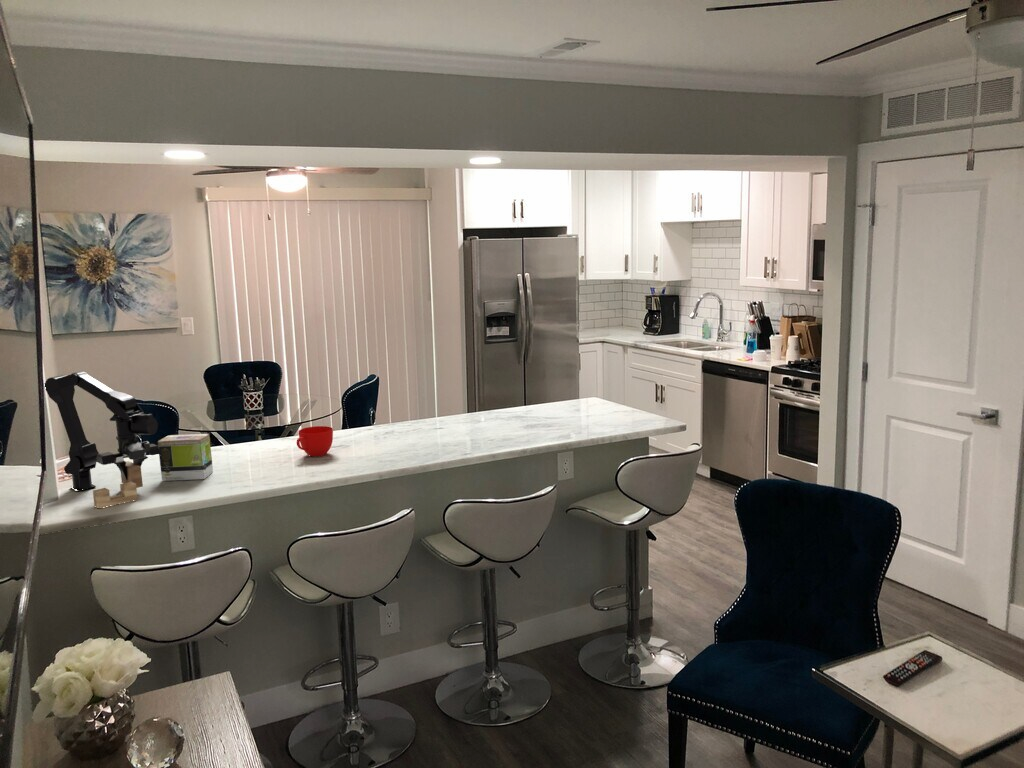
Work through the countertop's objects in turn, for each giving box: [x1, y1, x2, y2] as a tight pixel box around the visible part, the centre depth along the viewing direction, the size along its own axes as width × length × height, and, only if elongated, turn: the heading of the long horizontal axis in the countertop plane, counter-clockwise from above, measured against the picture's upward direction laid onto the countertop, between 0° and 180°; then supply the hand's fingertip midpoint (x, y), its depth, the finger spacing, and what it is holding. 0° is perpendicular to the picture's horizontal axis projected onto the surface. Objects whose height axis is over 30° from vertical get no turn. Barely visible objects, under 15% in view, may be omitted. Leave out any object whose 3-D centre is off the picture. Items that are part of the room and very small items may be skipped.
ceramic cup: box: [296, 425, 334, 457], centre depth 311 cm, size 13×17×10 cm
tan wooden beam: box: [120, 460, 144, 489], centre depth 270 cm, size 10×3×7 cm, turn 46°
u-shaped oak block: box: [92, 482, 139, 509], centre depth 258 cm, size 4×12×6 cm, turn 136°
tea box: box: [157, 433, 214, 482], centre depth 286 cm, size 15×10×15 cm
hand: (131, 478), depth 271 cm, fingers closed on tan wooden beam, 3 cm apart
